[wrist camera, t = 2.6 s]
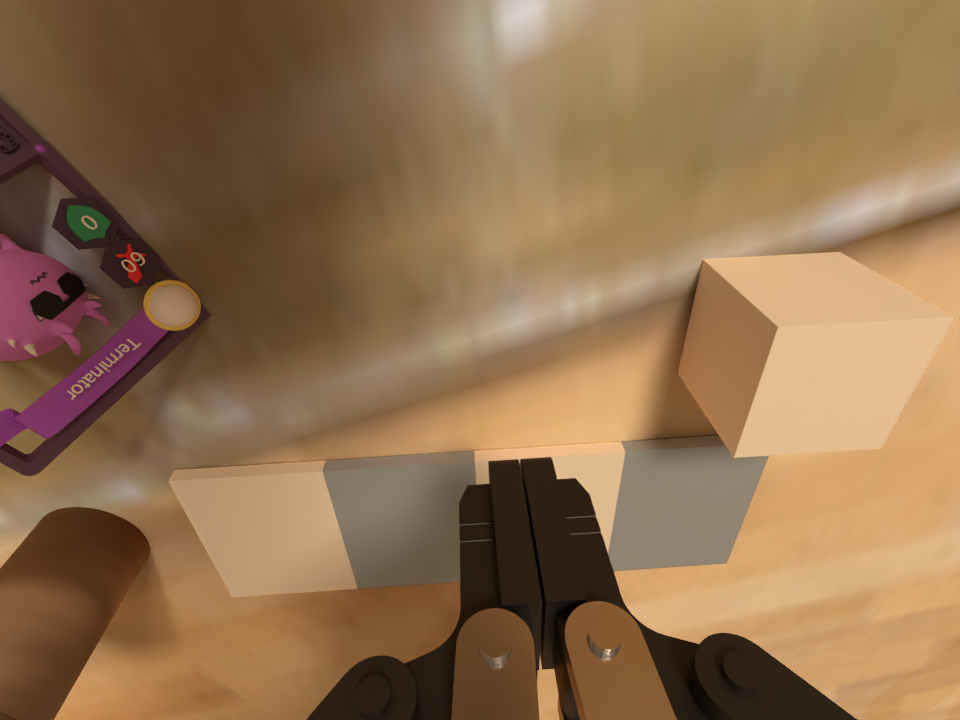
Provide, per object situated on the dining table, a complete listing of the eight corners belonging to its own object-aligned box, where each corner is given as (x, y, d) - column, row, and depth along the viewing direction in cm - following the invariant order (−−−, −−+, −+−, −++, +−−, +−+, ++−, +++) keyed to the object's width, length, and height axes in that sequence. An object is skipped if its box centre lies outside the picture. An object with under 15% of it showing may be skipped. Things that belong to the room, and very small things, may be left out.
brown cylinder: (17, 510, 21) (-219, 772, 13) (123, 504, 21) (-53, 760, 14) (69, 573, 23) (-107, 824, 16) (164, 567, 23) (34, 813, 16)
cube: (702, 258, 16) (778, 327, 12) (838, 250, 16) (954, 316, 12) (676, 372, 19) (733, 457, 15) (795, 365, 19) (881, 448, 15)
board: (174, 469, 20) (168, 481, 19) (765, 432, 20) (773, 442, 20) (236, 586, 24) (232, 597, 24) (720, 552, 25) (726, 563, 24)
